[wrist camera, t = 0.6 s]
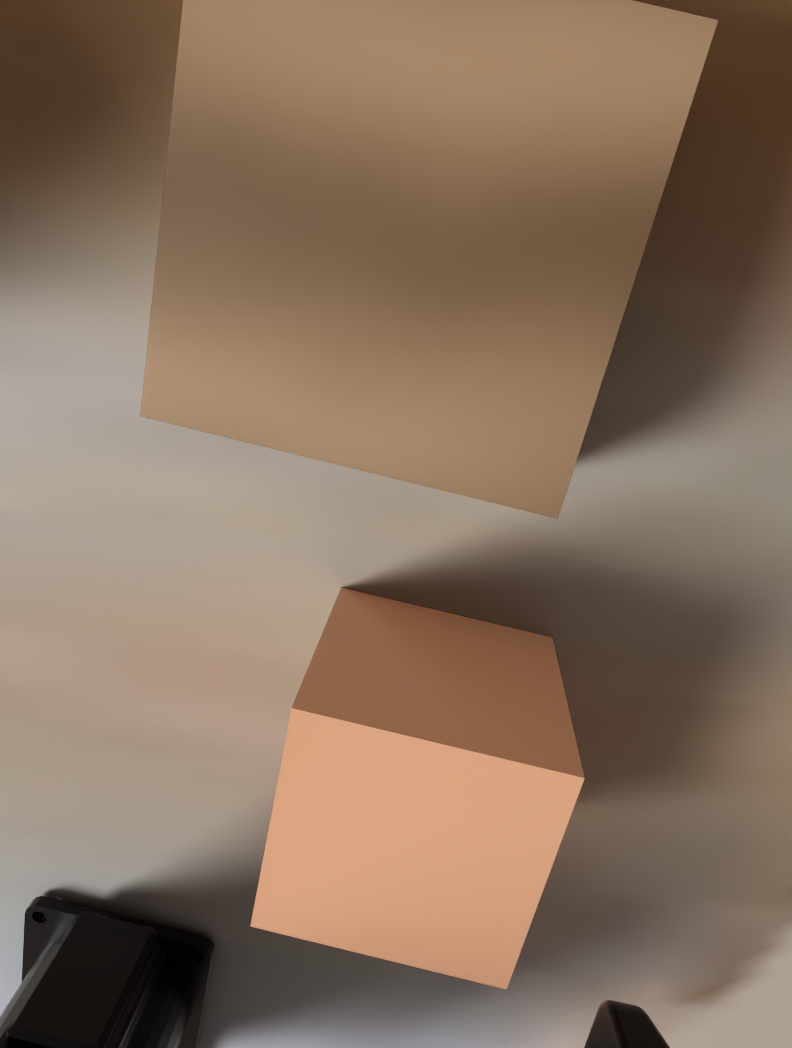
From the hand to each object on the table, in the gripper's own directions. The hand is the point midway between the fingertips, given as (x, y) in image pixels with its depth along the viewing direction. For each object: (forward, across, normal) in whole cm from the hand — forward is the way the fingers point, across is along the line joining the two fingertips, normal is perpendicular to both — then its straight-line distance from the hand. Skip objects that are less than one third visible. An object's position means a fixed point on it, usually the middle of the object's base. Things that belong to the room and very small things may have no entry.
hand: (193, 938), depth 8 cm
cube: (+12, -3, +4) cm, 13 cm away
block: (+12, 0, -8) cm, 15 cm away
